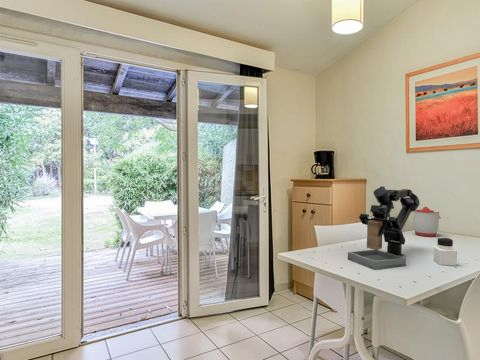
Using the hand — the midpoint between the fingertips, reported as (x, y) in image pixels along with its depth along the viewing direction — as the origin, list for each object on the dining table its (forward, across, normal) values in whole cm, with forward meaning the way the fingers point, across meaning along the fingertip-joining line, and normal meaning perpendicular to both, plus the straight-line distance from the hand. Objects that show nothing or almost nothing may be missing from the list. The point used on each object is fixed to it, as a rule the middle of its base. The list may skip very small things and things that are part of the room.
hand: (373, 234), depth 146 cm
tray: (+8, 0, +10) cm, 14 cm away
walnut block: (+4, 0, +6) cm, 7 cm away
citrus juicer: (-55, -8, +76) cm, 94 cm away
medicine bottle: (-8, +22, +28) cm, 36 cm away
